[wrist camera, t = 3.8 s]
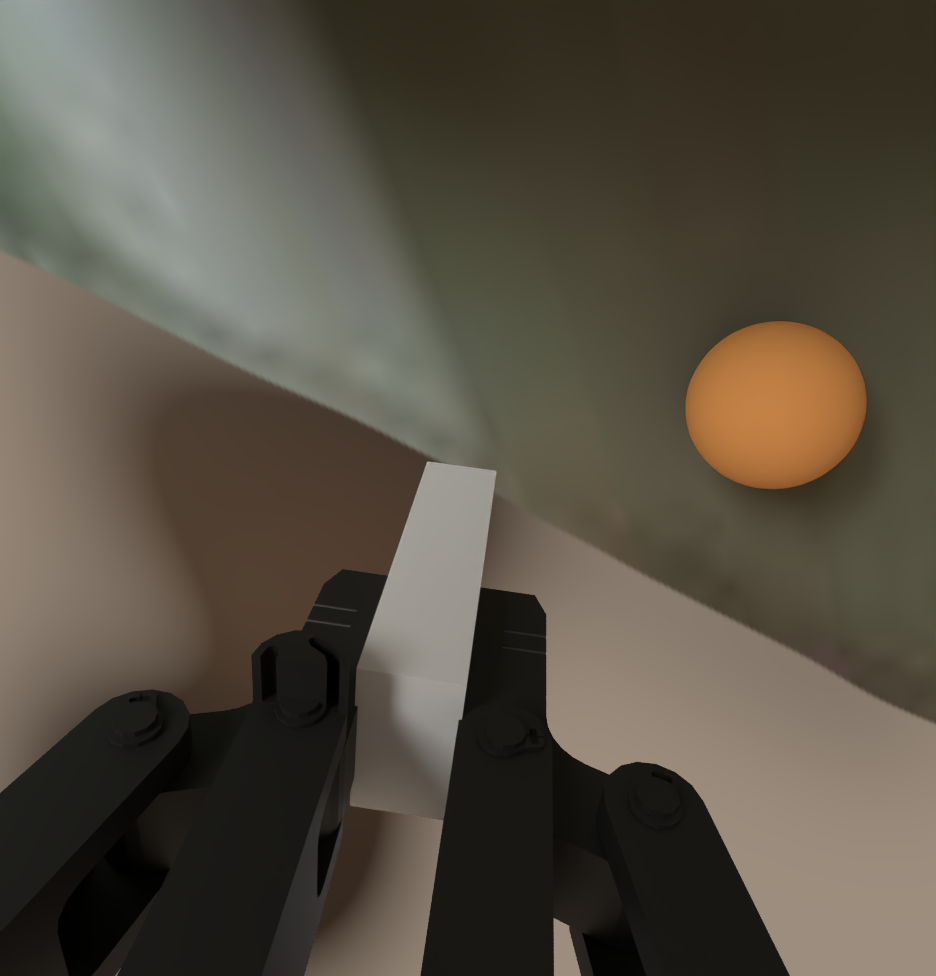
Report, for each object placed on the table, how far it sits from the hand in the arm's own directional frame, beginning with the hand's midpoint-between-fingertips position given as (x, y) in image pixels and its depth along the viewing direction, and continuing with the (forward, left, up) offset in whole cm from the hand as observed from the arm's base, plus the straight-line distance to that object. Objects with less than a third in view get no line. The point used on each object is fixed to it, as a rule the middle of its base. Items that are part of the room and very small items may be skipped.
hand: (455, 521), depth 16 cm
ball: (+9, 0, -10) cm, 14 cm away
